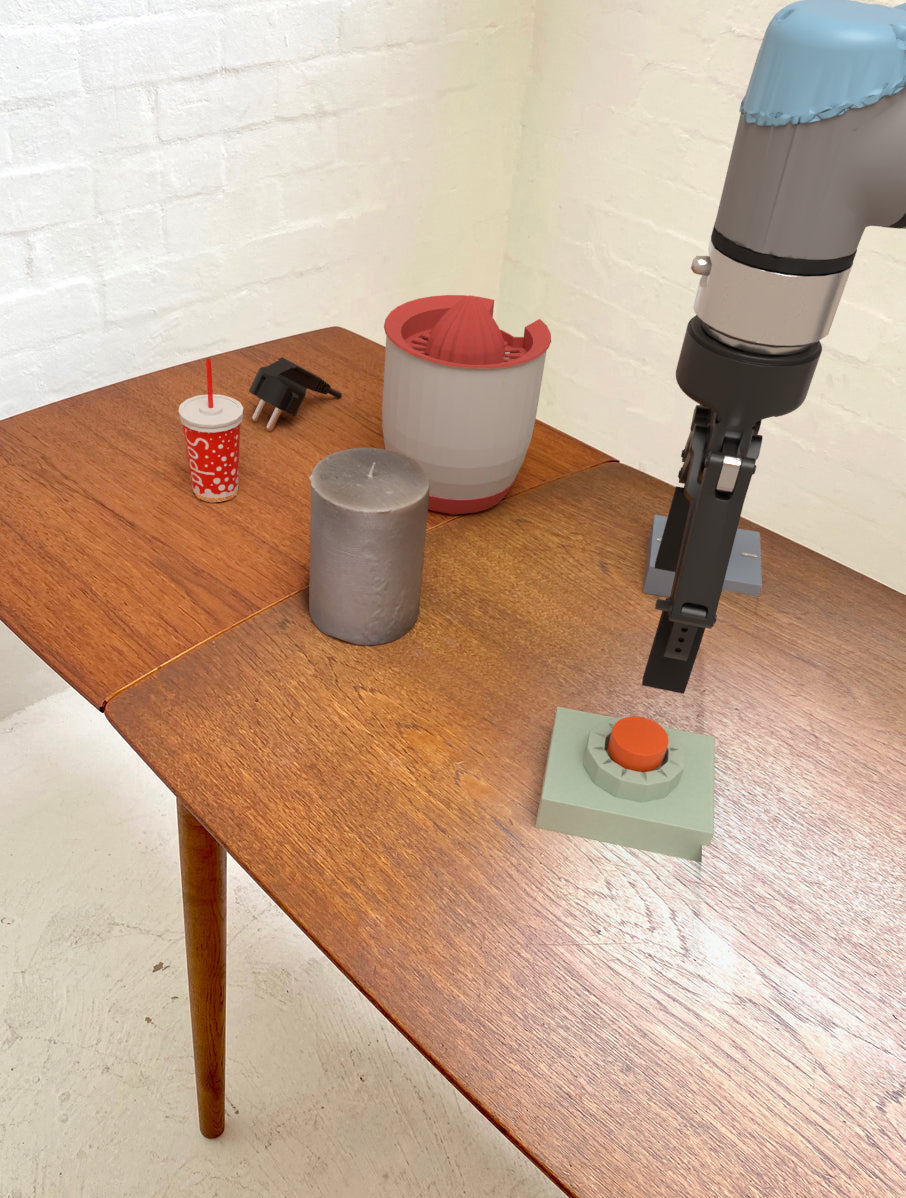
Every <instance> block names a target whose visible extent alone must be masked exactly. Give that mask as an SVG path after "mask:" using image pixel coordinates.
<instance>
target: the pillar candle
mask: <svg viewBox="0 0 906 1198" xmlns="http://www.w3.org/2000/svg"><path fill="white" fill-rule="evenodd" d="M308 480H309V481H310V519H309V520H310V524H309V525H310V527H309V530H310V531H309V536H310V537H309V582H308V585H309V587H308V589H309V590H308V591H309V593H308V610H309V611H308V612H309V616H310V618H311V621H312V622H313V624H314V626H315V627H316V628H317V629H318V631H320V632H321V633H323V634H325V635H326V636H329V637H333V638H335V639H338V640H341V641H343V642H344V641H345V642H347V643H350V644H354V645H357V646H378V645H383V644H388V643H391V642H393V641H396V640H398V639H400V638H402V637H403V636H405V635H407V633H409V632H410V631H411V629H412V628H413V627H414V625H415V624H416V622H417V620H418V617H419V613H420V602H421V601H420V600H421V591H422V583H423V582H422V581H423V580H422V579H423V569H424V562H425V547H426V535H427V525H428V513H429V509H428V501H429V490H430V481H429V477H428V474H427V472H426V471H425V469H424V467H422V466H421V465H420V464H419V463H417V462H416V461H415V460H413V459H411V458H410V457H407V456H405V455H403V454H400V453H397V452H393V451H390V450H386V449H384V448H377V447H353V448H347V449H343V450H339V451H337V452H334V453H333V452H332V453H331V454H329V455H326V456H325V457H324V458H322V459H321V460H319V461H318V463H316V464H315V466H314V467H313V469H312V471H311V475H310V476H309V478H308Z"/></svg>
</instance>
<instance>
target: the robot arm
mask: <svg viewBox="0 0 906 1198" xmlns="http://www.w3.org/2000/svg"><path fill="white" fill-rule="evenodd" d="M756 55H757V56H756V59H755V61H754V65H753V68H752V71H751V75H750V78H749V81H748V85H747V88H746V91H745V94H744V96H743V98H742V100H741V102H740V105H739V113H740V115H739V118H738V123H737V127H736V131H735V132H736V133H735V137H734V139H733V140H734V141H733V145H732V149H731V152H730V158H729V162H728V166H727V171H726V174H725V179H724V184H723V188H722V192H721V197H720V201H719V204H718V208H717V214H716V217H715V221H714V224H713V228H712V232H711V235H710V241H709V244H708V249H707V250H708V251H707V252H708V255H696V256H695V257H694V258H693V259H692V262H691V265H690V270H691V271H692V273H693V274H696V275H699V276H700V279H699V282H698V287H697V291H696V294H695V298H694V303H693V310H694V313H695V314H696V315H694V316H693V317H691V318H690V319H689V321H688V322H687V326H686V329H685V334H684V338H683V341H682V345H681V349H680V352H679V356H678V361H677V363H676V368H675V380H676V383H677V385H678V387H679V388H680V390H681V391H682V393H684V394H685V395H686V396H687V397H688V398H690V400H692V401H694V402H695V403H697V404H696V405H695V407H694V409H693V412H692V413H693V414H692V418H691V424H690V428H689V429H690V431H689V434H688V438H687V440H686V444H685V446H684V448H683V449H682V450H681V454H680V457H681V463H683V464H682V466H681V467H680V470H678V473H677V478H678V484H684V485H683V486H678V485H677V486H675V489H674V493H673V496H672V499H671V503H670V507H669V511H668V514H667V517H668V518H667V521H666V525H665V529H664V532H663V536H662V540H661V543H660V547H659V550H658V554H657V558H656V561H655V568H656V569H661V570H666V571H672V572H675V577H674V581H673V586H672V591H671V595H670V597H665V599H662V598H657V599H656V601H655V605H654V606H655V607H654V610H657V611H661V614H660V617H659V621H658V624H657V628H656V630H655V635H654V636H653V637H654V638H653V641H652V644H651V648H650V651H649V655H648V659H647V662H646V665H645V669H644V672H643V675H642V680H641V686H643V687H648V688H653V689H658V690H663V691H667V692H672V693H678V694H682V695H685V692H686V691H687V686H688V683H689V680H690V677H691V674H692V671H693V668H694V665H695V662H696V659H697V656H698V653H699V650H700V647H701V643H702V641H703V637H704V634H705V633H706V632H705V631H706V629H710V630H712V628H713V627H714V626H715V624H716V622H717V618H718V615H717V610H718V606H719V603H720V599H721V595H722V591H723V590H722V587H723V584H724V580H725V576H726V572H727V568H728V564H729V560H730V556H731V552H732V548H733V544H734V540H735V536H736V532H737V528H738V529H739V523H740V519H741V516H742V511H743V508H744V504H745V500H746V497H747V494H748V491H749V487H750V483H751V481H752V477H753V475H755V473H756V470H757V465H756V462H757V460H758V459H759V456H760V453H761V448H762V444H763V439H764V438H763V437H764V436H763V434H759V431H760V429H761V425H762V421H763V420H765V419H770V418H773V417H775V418H778V417H783V416H785V415H788V414H791V413H792V412H795V411H796V410H797V409H799V408H800V407H801V406H802V405H803V404H804V402H805V401H806V398H807V396H808V393H809V389H810V387H811V385H812V381H813V379H814V376H815V372H816V369H817V367H818V363H819V361H820V358H821V354H822V352H823V346H822V343H821V340H823V339H824V338H826V337H827V336H828V335H829V333H830V331H831V328H832V325H833V323H834V319H835V316H836V314H837V311H838V308H839V305H840V303H841V299H842V297H843V294H844V291H845V288H846V286H847V282H848V280H849V276H850V274H851V271H852V268H853V266H854V261H855V258H856V254H857V253H858V247H859V245H860V242H861V240H862V237H863V235H864V232H865V230H866V228H868V227H880V228H887V229H899V230H902V229H904V230H906V2H904V3H900V4H897V5H895V6H893V7H892V6H888V5H883V4H877V3H866V2H861V1H858V0H798V1H794V2H790V3H789V4H788V5H786V6H783V7H782V8H781V9H780V10H779V11H778V12H777V13H775V14H774V15H773V17H772V19H771V20H770V21H769V23H768V25H767V27H766V30H765V33H764V35H763V38H762V41H761V44H760V47H759V49H758V52H757V54H756Z"/></svg>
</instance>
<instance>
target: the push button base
mask: <svg viewBox="0 0 906 1198" xmlns="http://www.w3.org/2000/svg"><path fill="white" fill-rule="evenodd" d="M626 717H632V715H622V716H609V715H604V714H598V713H595V712H588V711H582V710H578V709H572V708H567V707H563V706H557V707H556V710H555V715H554V720H553V723H552V724H553V725H552V729H551V734H550V738H549V739H550V740H549V745H548V750H547V757H546V762H545V768H544V774H543V778H542V785H541V791H540V797H539V803H538V808H537V814H536V819H535V826H534V828H535V829H538V830H544V831H549V832H552V833H553V832H554V833H558V834H563V835H567V836H573V837H578V838H581V839H582V838H583V839H587V840H591V841H596V842H602V843H606V844H611V845H615V846H619V847H620V846H621V847H626V848H630V849H633V850H640V851H644V852H649V853H654V854H659V855H663V856H668V857H673V858H678V859H683V860H687V861H693V862H697V863H702V862H703V846H704V847H710V845H711V843H712V840H713V837H714V834H715V783H716V782H715V779H716V778H715V777H716V776H715V774H716V771H715V770H716V737H715V736H711V735H707V734H702V733H697V732H691V731H686V730H683V729H676V728H672V727H671V728H670V727H665V726H663V725H661V724H659V725H660V726H661V727H662V728H663V729H664V730H665V731H666V733H667V735H668V739H669V742H668V746H667V749H666V753H665V756H664V759H663V762H662V764H661V765H660V766H659V767H658V768H656V769H655V770H652V771H649V772H638V771H633V770H628V769H625V768H623V767H621V766H620V765H618V764H617V763H615V762H614V761H613V760H612V758H611V757H610V755H609V752H608V744H609V740H610V736H611V732H612V729H613V726H614V725H615V723H616V722H617V721H619V720H620V719H623V718H626Z"/></svg>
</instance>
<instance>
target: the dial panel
mask: <svg viewBox="0 0 906 1198" xmlns="http://www.w3.org/2000/svg"><path fill="white" fill-rule="evenodd" d="M667 518H668V516H666V515H662V514H661V515H660V514H653V518H652V522H651V526H650V531H649V534H648V538H647V545H646V554H645V555H646V556H645V564H644V565H645V566H644V576H643V585H642V586H643V587H642V593H643V594H648V595H654V596H658V597H665V598H668V597H670V595H671V591H672V586H673V581H674V577H675V572H672V571H666V570H661V569H656V568H655V561H656V558H657V554H658V550H659V547H660V543H661V540H662V536H663V532H664V529H665V525H666V521H667ZM762 577H763V576H762V550H761V532H760V531H756V530H749V529H743V528H739V527H738V528H737V532H736V536H735V540H734V544H733V548H732V552H731V556H730V560H729V564H728V568H727V572H726V576H725V580H724V584H723V587H722V591H727V592H732V593H737V594H738V593H739V594H743V595H750V596H753V597H754V596H755V597H759V596H760V593H761V590H762V588H763V578H762Z"/></svg>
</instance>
